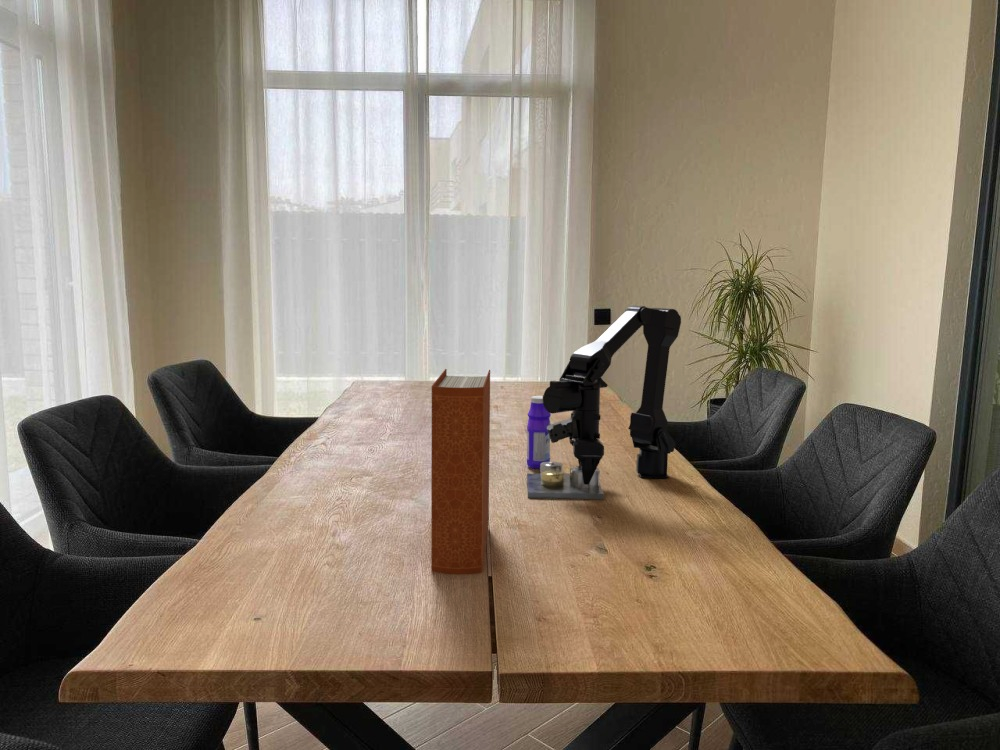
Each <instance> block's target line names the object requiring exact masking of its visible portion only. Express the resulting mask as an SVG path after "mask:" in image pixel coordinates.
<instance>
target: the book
mask: <svg viewBox="0 0 1000 750" xmlns="http://www.w3.org/2000/svg"><path fill="white" fill-rule="evenodd" d="M490 412H491V369H489V370H488V371H487V374H486V376H479V375H478V376H468V375H467V376H466V375H465V376H459V375H447V368H445V369H444V370H443V371H442V372H441V374H440V375H439V376H438V377H437V379H436V380H435V381H434V382H433V384H431V475H430V476H431V488H430V489H431V500H430V501H431V507H430V508H431V520H430V521H431V523H430V525H431V528H430V529H431V535H430V536H431V539H430V541H431V543H430V545H431V546H430V547H431V549H430V550H431V554H430V555H431V559H430V561H431V562H430V564H431V565H430V566H431V571H430V572H432V573H436V574H441V575H453V576H465V575H467V576H468V575H479V574H483V571H484V563H485V557H486V551H487V550H486V549H487V548H486V547H487V542H488V535H489V521H490V519H489V518H490V517H489V516H490V514H489V513H490V512H489V511H490V510H489V508H490V504H489V503H490V439H491V438H490V428H491V427H490V426H491V425H490V422H491V421H490V420H491V419H490V418H491V413H490Z"/></svg>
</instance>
